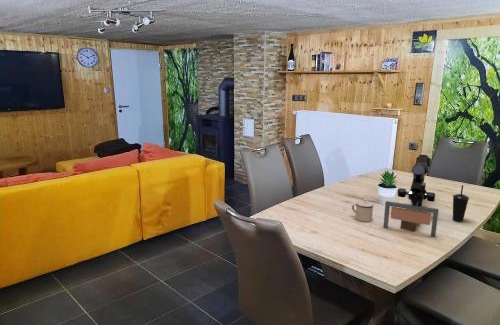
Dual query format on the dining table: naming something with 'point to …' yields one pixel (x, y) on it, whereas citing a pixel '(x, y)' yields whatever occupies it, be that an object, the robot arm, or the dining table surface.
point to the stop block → (409, 225)
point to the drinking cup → (459, 206)
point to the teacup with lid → (363, 210)
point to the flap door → (410, 215)
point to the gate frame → (412, 207)
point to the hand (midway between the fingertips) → (413, 208)
